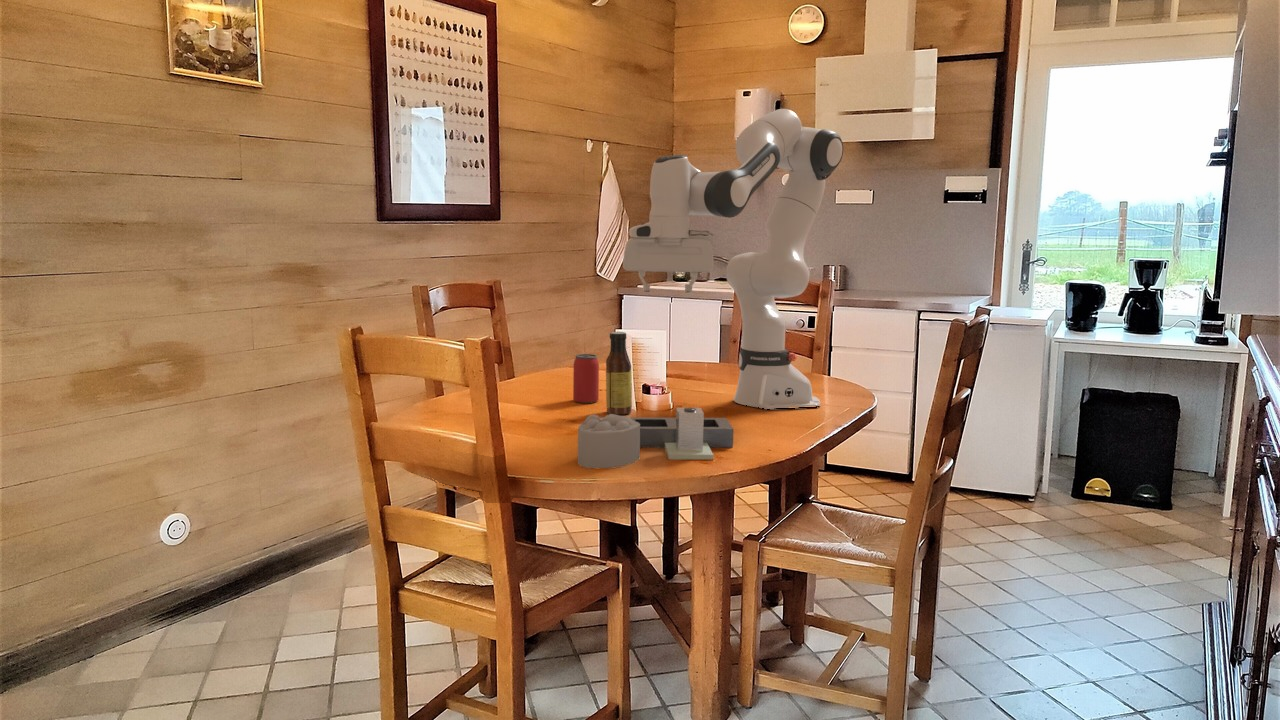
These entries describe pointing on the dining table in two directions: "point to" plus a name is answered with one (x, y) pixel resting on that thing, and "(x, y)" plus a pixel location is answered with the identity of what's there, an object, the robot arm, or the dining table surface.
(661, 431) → the rail
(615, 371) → the sauce bottle
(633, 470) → the dining table surface
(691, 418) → the grey square post
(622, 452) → the lumpy-topped squat cylinder
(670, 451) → the pad
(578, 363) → the beer can
